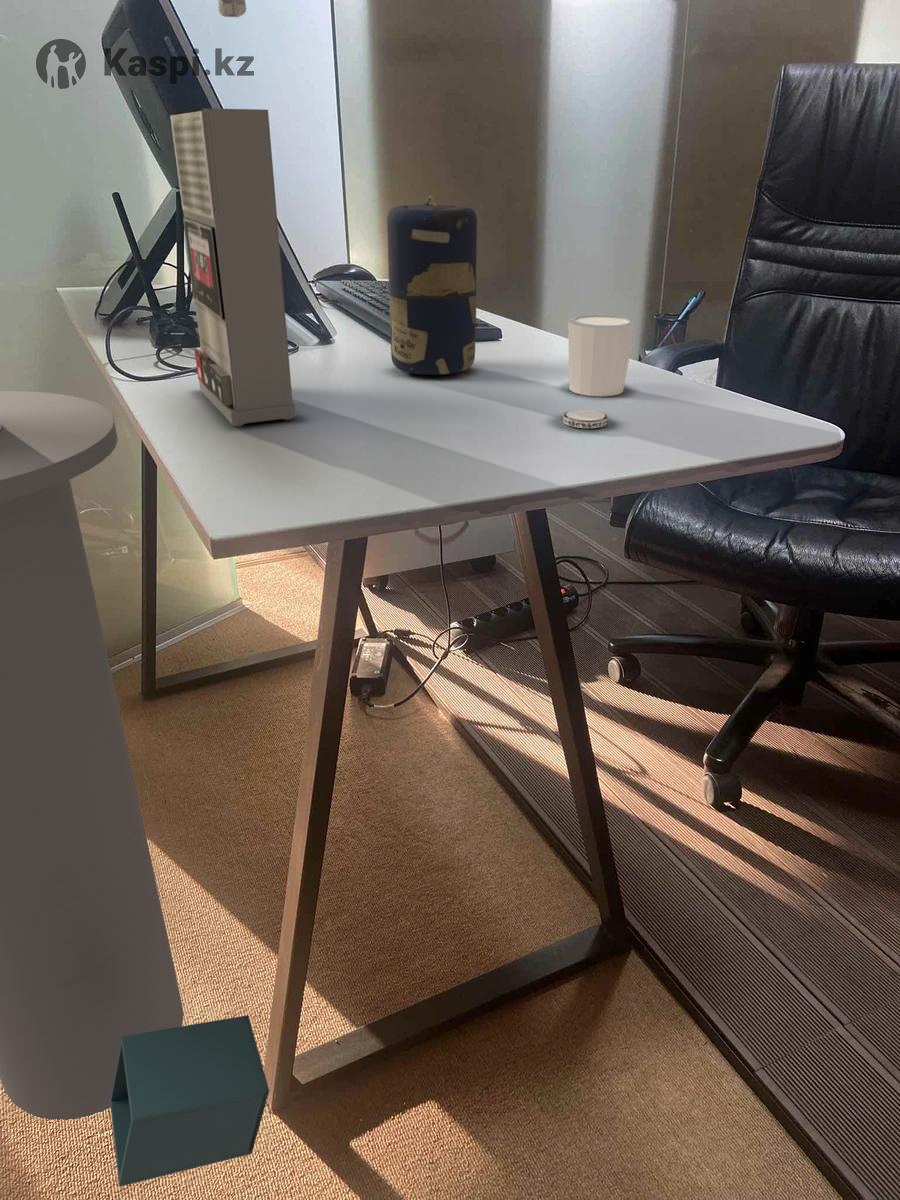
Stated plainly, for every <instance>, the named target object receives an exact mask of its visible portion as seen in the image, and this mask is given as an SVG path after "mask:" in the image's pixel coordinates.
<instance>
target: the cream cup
mask: <svg viewBox="0 0 900 1200" xmlns="http://www.w3.org/2000/svg"><path fill="white" fill-rule="evenodd" d="M636 325H637V322H636V321H634V320H633V319H629V318H625V317H619V316H611V315H583V316H576V317H572V318H569V319H568V321H567V335H568V339H567V340H568V381H569V383H568V384H569V385H568V386H569V391H571V392H572V393H575V394H578V395H582V396H588V397H612V396H617V395H620V394H622V393H624V389H625V383H626V377H627V373H628V367H629V363H630V357H631V352H632V348H633V347H632V346H633V341H634V336H635V331H636V327H637V326H636Z"/></svg>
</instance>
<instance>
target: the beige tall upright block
mask: <svg viewBox="0 0 900 1200" xmlns="http://www.w3.org/2000/svg"><path fill="white" fill-rule="evenodd" d="M169 114H170V116H169V117H170V125H171V131H172V139H173V140H172V141H173V145H174V146H173V148H174V154H175V161H176V163H175V164H176V170H177V178H178V186H179V193H180V200H181V208H182V213H183V217H182V222H183V230H184V231H183V232H184V238H185V245H186V254H187V261H188V270H189V276H190V283H191V284H190V285H191V291H192V299H193V301H194V307H195V313H196V322H197V329H198V337H199V346H200V351H199V349H197V348H195V347H194V348H193V350H194V356H195V364H196V371H197V379H198V382H199V383H198V384H199V390H200V391H201V392H202V393H203V395H204V396H205V397H206V398H207V399H208V400H209V401H210V403H212V405H213V406H214V407H215V408H216V409H217V410H218V411H219V412H220V413H221V414H222V416H224V417H225V419H226V420H227V421H228V422H229V423H230V425H233V426H234V427H243V426H245V424H250V423H259V422H266V421H274V420H275V421H276V420H284V421H292V420H294V418H296V407H295V405H296V404H294V403H293V402H294V401H293V391H292V380H291V367H290V356H289V355H290V354H289V343H288V331H287V320H286V309H285V308H286V307H285V306H286V305H285V295H284V284H283V271H282V260H281V247H280V237H279V224H278V213H277V201H276V199H277V198H276V190H275V189H276V188H275V187H276V186H275V177H274V166H273V164H274V163H273V153H272V142H271V141H272V140H271V130H270V118H269V109H253V108H251V109H250V108H211V107H210V108H206V107H202V108H196V109H190V110H189V109H188V110H183V111H177V112H171V113H169Z"/></svg>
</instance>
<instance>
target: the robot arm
mask: <svg viewBox="0 0 900 1200" xmlns="http://www.w3.org/2000/svg"><path fill="white" fill-rule="evenodd" d="M216 1H217V9H218V13H219V14H220V16H222V17H224V18H239V17H242V16H243V15H245V13H246V11H247V4H246V0H216ZM1 428H2V426H1V424H0V430H1Z"/></svg>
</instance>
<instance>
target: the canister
mask: <svg viewBox="0 0 900 1200" xmlns="http://www.w3.org/2000/svg"><path fill="white" fill-rule="evenodd" d="M430 201H432V203H433V204H430ZM386 230H387V231H386V232H387V256H388V257H387V261H388V262H387V266H388V294H389V296H388V297H389V327H390V356H391V362H392V365H393V366H394V367H395V368H397V369H398V370H400V371H402V372H405V373H409V374H413V375H424V376H425V375H427V376H436V375H437V376H439V375H440V376H441V375H451V374H456V373H460V372H463V371H466V370H468V369H469V368H471V367H472V366H473V364H474V362H475V358H476V331H477V254H478V253H477V252H478V251H477V247H478V245H477V244H478V239H477V237H478V217H477V214H476V212H475V210H474V209H472V208H471V207H469V206H464V205H454V204H438V203H437V201H436V199H435V197H434V196H433V195H429V196H428V197H426V200H425V202H424V204H407V205H406V204H405V205H399V206H393V207H392V208H390V210H389V211H388V214H387V218H386Z"/></svg>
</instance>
